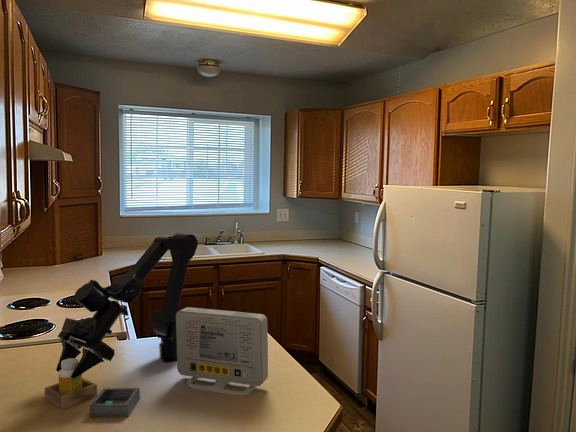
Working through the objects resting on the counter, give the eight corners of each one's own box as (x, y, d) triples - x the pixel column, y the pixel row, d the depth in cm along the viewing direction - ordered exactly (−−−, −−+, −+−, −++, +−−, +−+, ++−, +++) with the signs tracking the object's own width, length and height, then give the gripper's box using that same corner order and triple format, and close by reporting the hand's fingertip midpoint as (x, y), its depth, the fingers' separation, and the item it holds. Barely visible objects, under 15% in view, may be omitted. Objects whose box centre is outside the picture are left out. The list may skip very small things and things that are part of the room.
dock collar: (104, 399, 119) (103, 385, 119) (139, 399, 119) (139, 385, 119) (90, 417, 110) (89, 402, 110) (128, 417, 110) (127, 402, 110)
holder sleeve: (78, 386, 127) (77, 376, 126) (97, 395, 121) (96, 384, 121) (44, 399, 119) (44, 388, 119) (63, 409, 114) (62, 397, 114)
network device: (271, 384, 127) (270, 312, 126) (258, 398, 119) (257, 321, 117) (189, 372, 136) (187, 304, 134) (172, 385, 127) (170, 313, 126)
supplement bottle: (73, 403, 117) (71, 365, 116) (54, 401, 118) (53, 364, 118) (87, 393, 123) (85, 357, 122) (68, 392, 124) (67, 356, 123)
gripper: (63, 300, 127) (22, 351, 119) (102, 310, 116) (60, 368, 108) (91, 321, 134) (54, 371, 126) (130, 333, 123) (93, 389, 115)
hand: (64, 374), depth 119 cm, fingers open, 7 cm apart
